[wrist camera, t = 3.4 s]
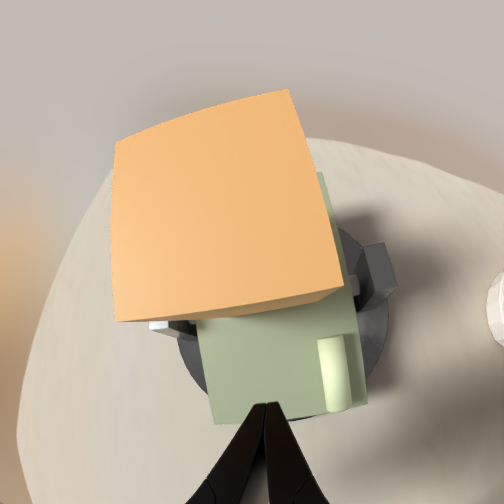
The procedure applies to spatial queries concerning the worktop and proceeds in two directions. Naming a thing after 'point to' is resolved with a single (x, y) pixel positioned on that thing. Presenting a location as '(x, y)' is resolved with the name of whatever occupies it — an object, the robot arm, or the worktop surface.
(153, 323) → the base
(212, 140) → the orange and green block
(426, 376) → the worktop surface
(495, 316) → the white cup
